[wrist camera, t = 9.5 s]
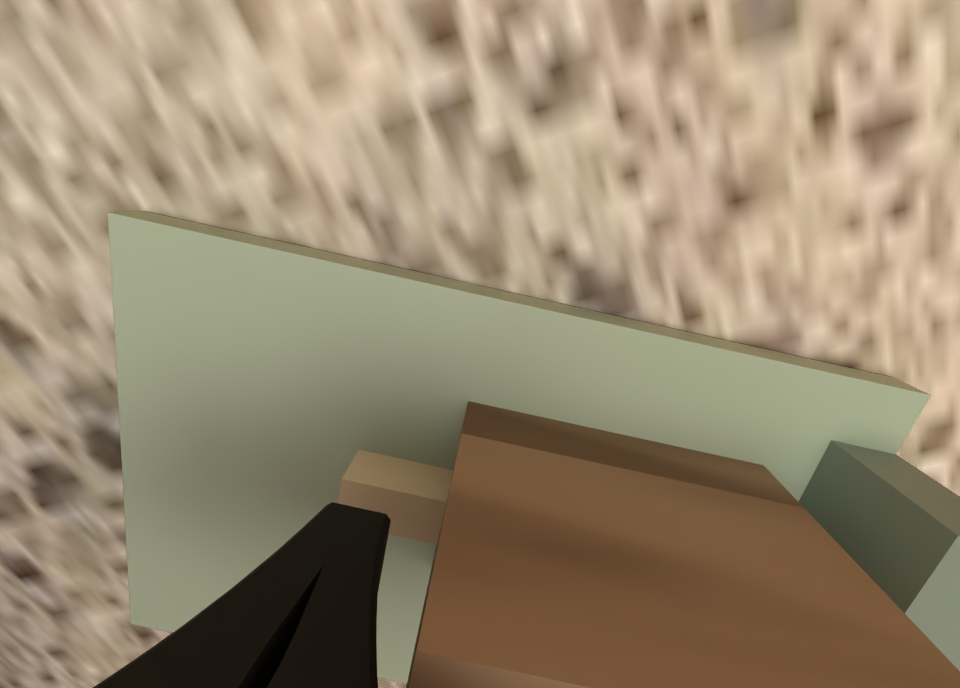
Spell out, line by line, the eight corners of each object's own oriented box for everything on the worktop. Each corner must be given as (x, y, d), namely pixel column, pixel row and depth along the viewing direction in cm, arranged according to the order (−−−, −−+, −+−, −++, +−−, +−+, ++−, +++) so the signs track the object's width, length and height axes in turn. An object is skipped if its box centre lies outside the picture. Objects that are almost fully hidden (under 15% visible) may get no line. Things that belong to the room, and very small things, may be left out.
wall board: (706, 714, 14) (777, 901, 11) (156, 595, 14) (27, 740, 10) (893, 377, 11) (1108, 477, 7) (144, 211, 10) (-65, 218, 7)
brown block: (687, 622, 12) (850, 1011, 6) (431, 567, 12) (359, 906, 6) (763, 465, 10) (1075, 793, 5) (467, 401, 10) (417, 649, 5)
